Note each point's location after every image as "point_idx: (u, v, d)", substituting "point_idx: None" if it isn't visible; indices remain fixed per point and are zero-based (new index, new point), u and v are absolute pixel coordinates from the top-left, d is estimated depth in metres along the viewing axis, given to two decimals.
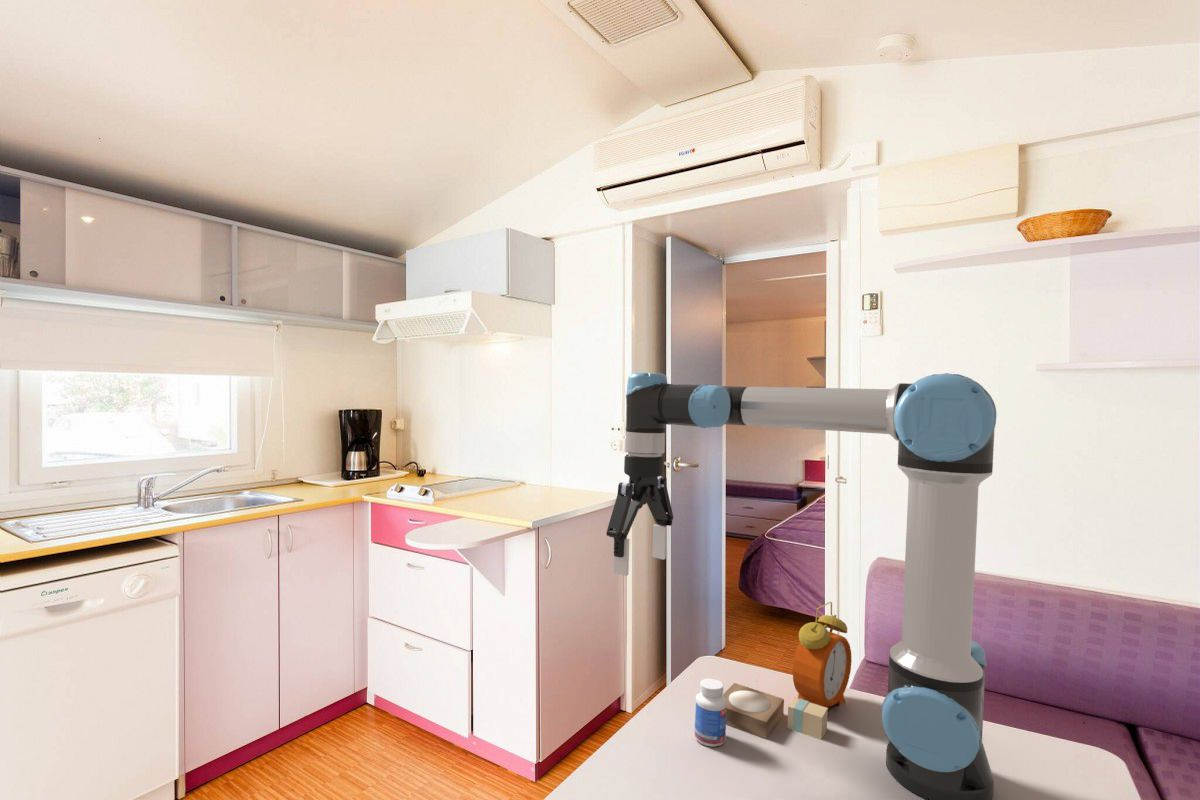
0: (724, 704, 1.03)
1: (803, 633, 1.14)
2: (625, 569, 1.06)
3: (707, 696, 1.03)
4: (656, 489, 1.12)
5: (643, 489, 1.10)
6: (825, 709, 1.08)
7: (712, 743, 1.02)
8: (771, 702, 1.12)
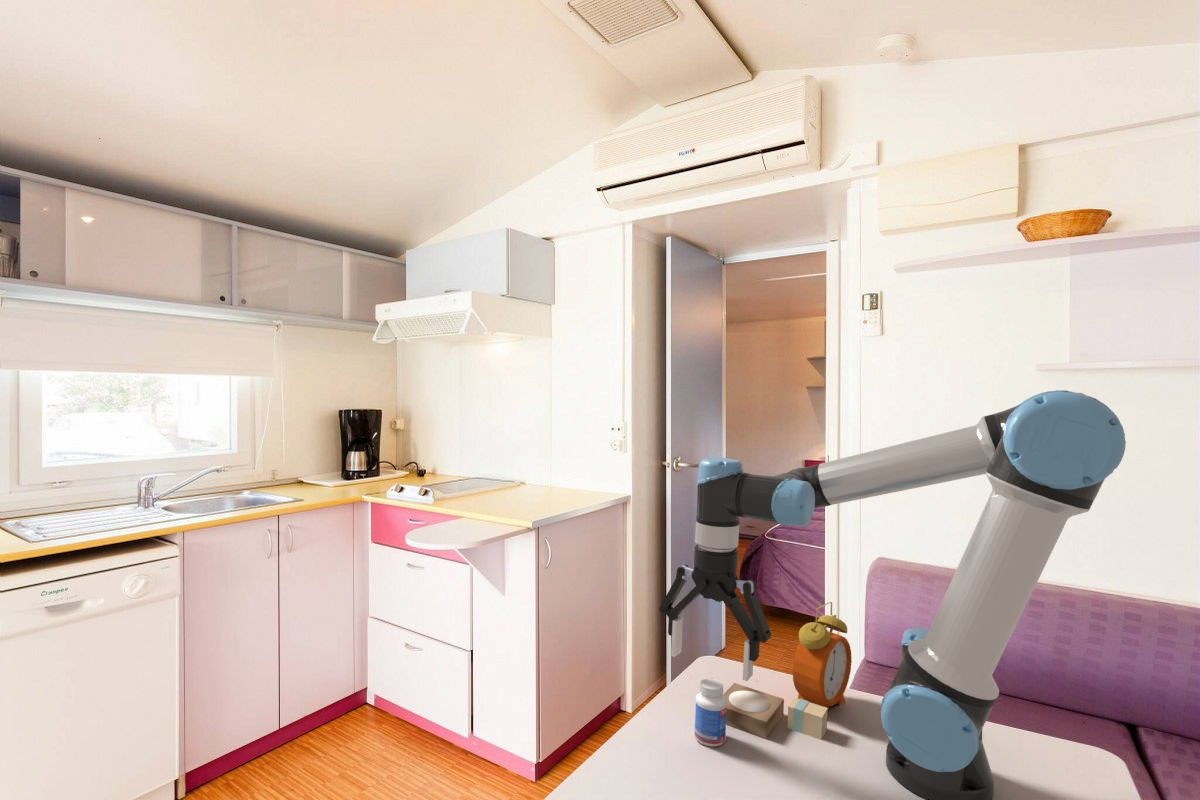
0: (724, 704, 1.03)
1: (803, 633, 1.14)
2: None
3: (707, 696, 1.03)
4: (718, 588, 1.02)
5: None
6: (825, 709, 1.08)
7: (712, 743, 1.02)
8: (771, 702, 1.12)
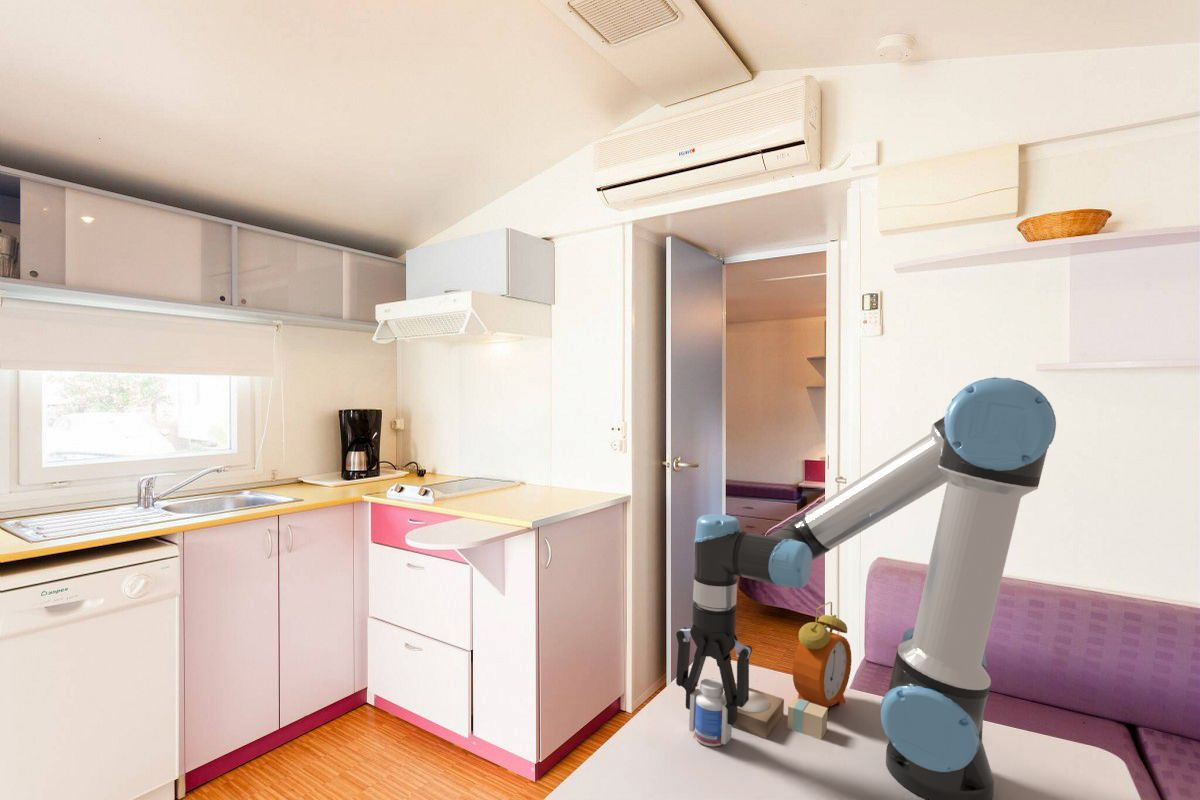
0: None
1: (803, 632, 1.14)
2: None
3: (707, 696, 1.03)
4: (716, 647, 1.02)
5: None
6: (825, 709, 1.08)
7: (712, 743, 1.02)
8: (771, 702, 1.12)
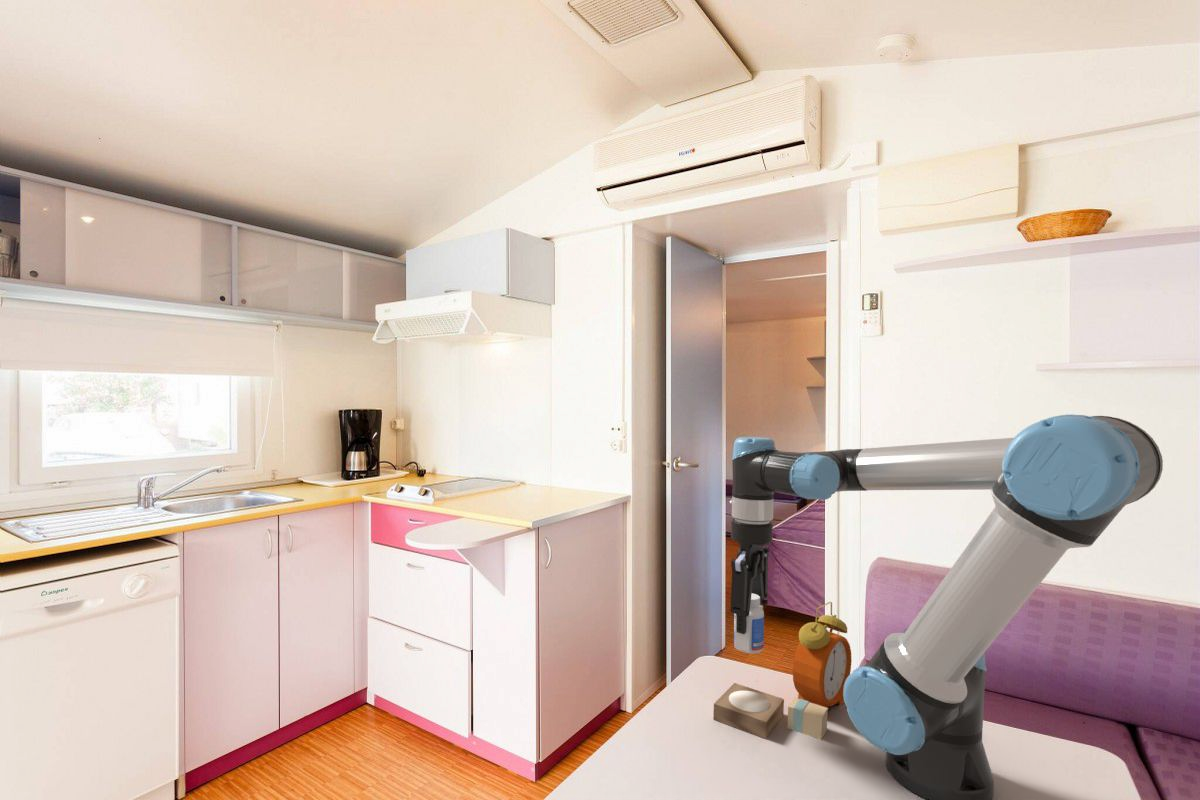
0: None
1: (803, 632, 1.14)
2: (748, 645, 1.07)
3: (758, 606, 1.09)
4: (763, 556, 1.10)
5: (753, 558, 1.08)
6: (825, 709, 1.08)
7: None
8: (771, 702, 1.12)
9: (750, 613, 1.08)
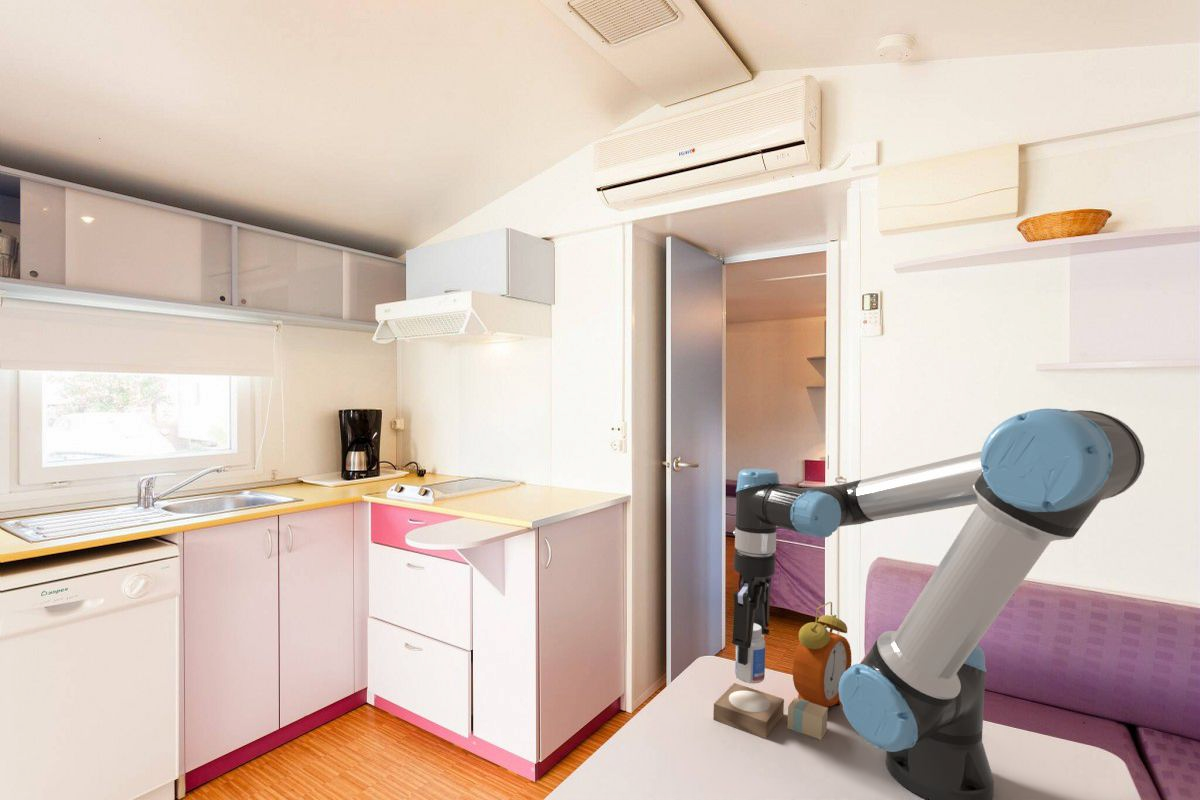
0: None
1: (803, 633, 1.14)
2: (749, 676, 1.08)
3: (759, 637, 1.11)
4: (766, 587, 1.12)
5: (755, 590, 1.09)
6: (825, 709, 1.08)
7: None
8: (771, 702, 1.12)
9: (752, 644, 1.09)
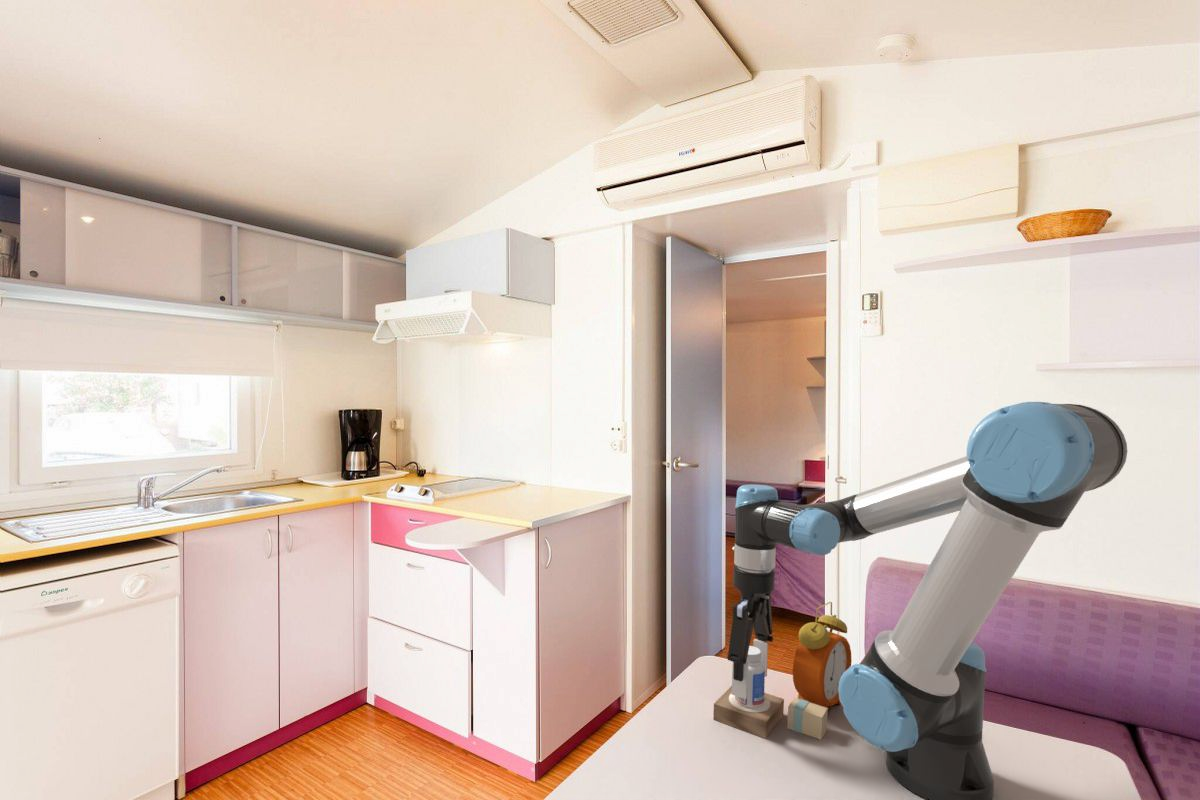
0: None
1: (803, 633, 1.14)
2: (745, 692, 1.06)
3: (759, 661, 1.11)
4: (765, 602, 1.12)
5: (755, 605, 1.09)
6: (825, 709, 1.08)
7: None
8: (771, 702, 1.12)
9: (751, 668, 1.09)
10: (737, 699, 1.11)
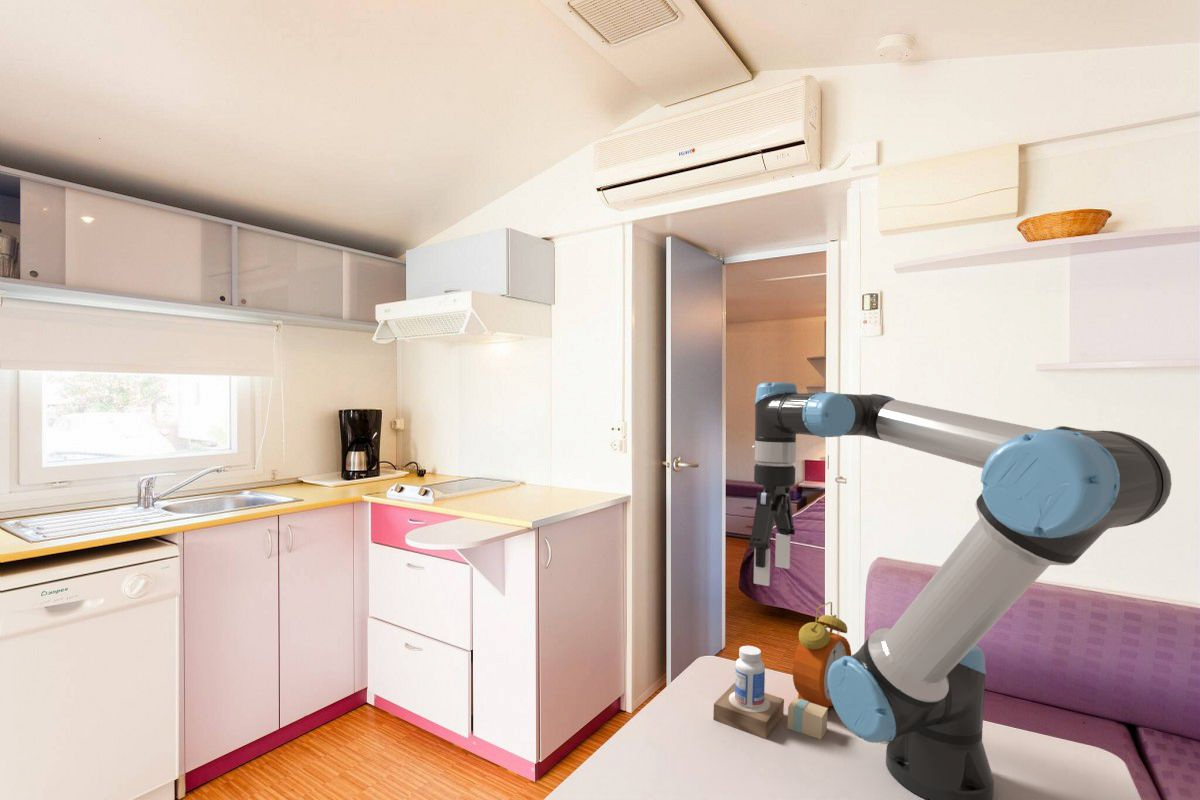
0: None
1: (803, 632, 1.14)
2: (767, 579, 1.06)
3: (759, 661, 1.11)
4: (786, 498, 1.13)
5: (777, 498, 1.10)
6: (825, 709, 1.08)
7: None
8: (771, 702, 1.12)
9: (751, 668, 1.09)
10: (737, 699, 1.11)
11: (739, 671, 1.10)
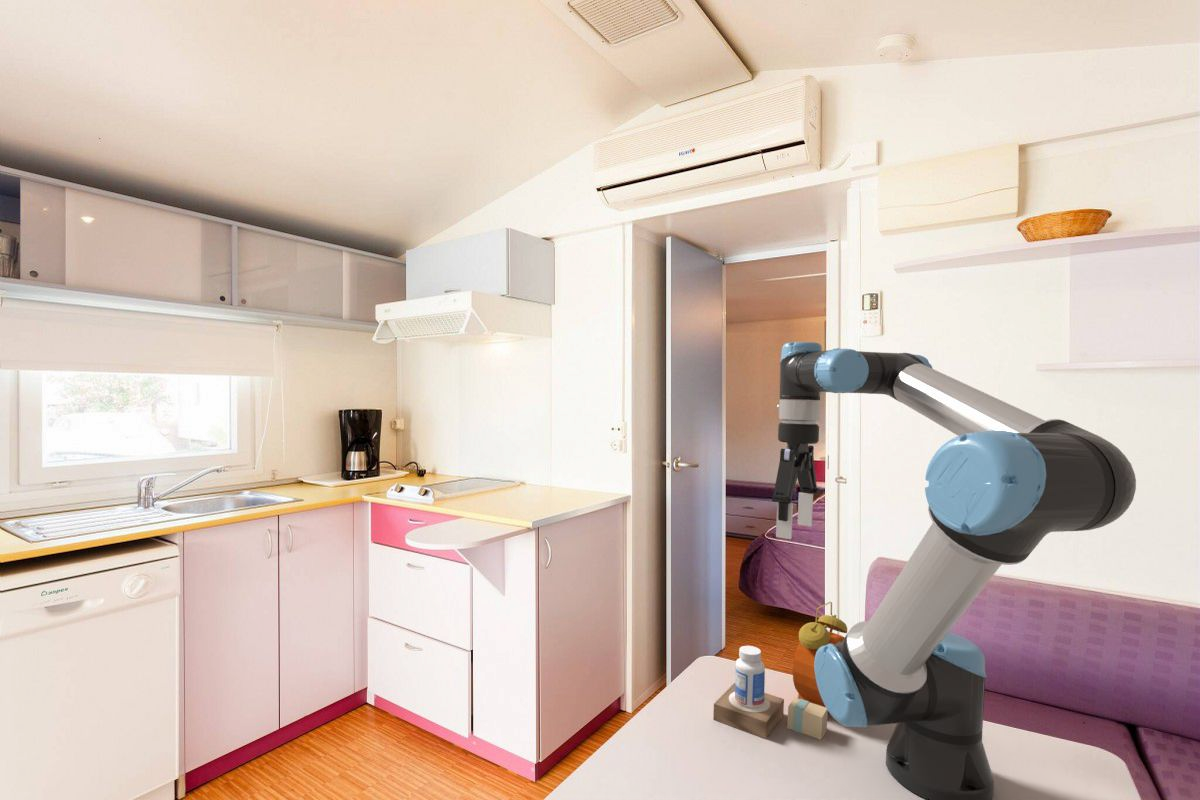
0: None
1: (803, 632, 1.14)
2: (789, 533, 1.08)
3: (759, 661, 1.11)
4: (810, 456, 1.15)
5: (800, 455, 1.12)
6: (825, 709, 1.08)
7: None
8: (771, 702, 1.12)
9: (751, 668, 1.09)
10: (737, 699, 1.11)
11: (739, 671, 1.10)
